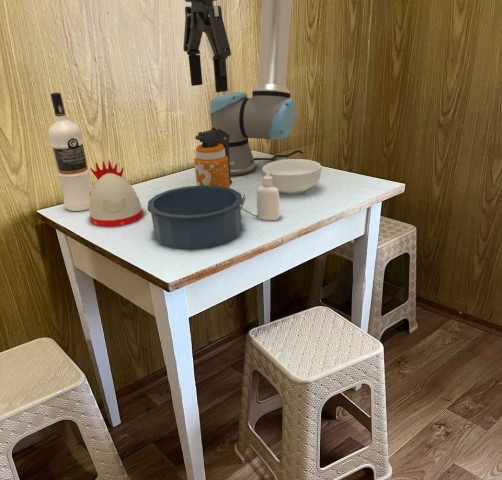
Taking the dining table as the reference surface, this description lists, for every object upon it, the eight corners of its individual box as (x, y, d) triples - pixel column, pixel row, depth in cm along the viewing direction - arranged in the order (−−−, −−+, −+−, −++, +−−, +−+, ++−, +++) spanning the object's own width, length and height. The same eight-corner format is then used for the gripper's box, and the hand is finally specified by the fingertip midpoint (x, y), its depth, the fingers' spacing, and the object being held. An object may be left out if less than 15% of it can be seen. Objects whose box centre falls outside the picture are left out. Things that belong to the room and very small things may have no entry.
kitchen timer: (90, 211, 145) (78, 157, 136) (139, 205, 147) (130, 151, 139) (91, 229, 133) (78, 171, 125) (145, 222, 136) (135, 164, 128)
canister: (192, 205, 145) (184, 131, 134) (220, 195, 152) (214, 123, 141) (214, 212, 140) (207, 135, 129) (242, 201, 146) (238, 126, 135)
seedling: (250, 236, 137) (228, 224, 136) (261, 211, 139) (240, 199, 137) (258, 228, 130) (235, 215, 129) (270, 201, 132) (248, 188, 131)
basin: (218, 208, 142) (216, 179, 138) (260, 235, 125) (259, 203, 121) (140, 227, 133) (134, 197, 129) (173, 258, 117) (168, 225, 112)
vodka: (92, 198, 154) (67, 88, 138) (102, 207, 148) (78, 92, 131) (61, 205, 150) (32, 93, 133) (70, 214, 143) (41, 97, 127)
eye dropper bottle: (267, 213, 138) (266, 167, 131) (282, 218, 134) (281, 171, 127) (255, 217, 136) (253, 171, 129) (269, 223, 132) (268, 175, 125)
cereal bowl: (306, 178, 161) (307, 155, 157) (330, 194, 148) (331, 169, 144) (255, 186, 157) (254, 162, 153) (274, 203, 144) (274, 177, 140)
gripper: (162, -18, 118) (174, 84, 130) (209, -23, 100) (218, 96, 112) (192, -19, 121) (201, 81, 133) (243, -24, 103) (248, 92, 115)
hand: (208, 88), depth 122 cm, fingers open, 13 cm apart
